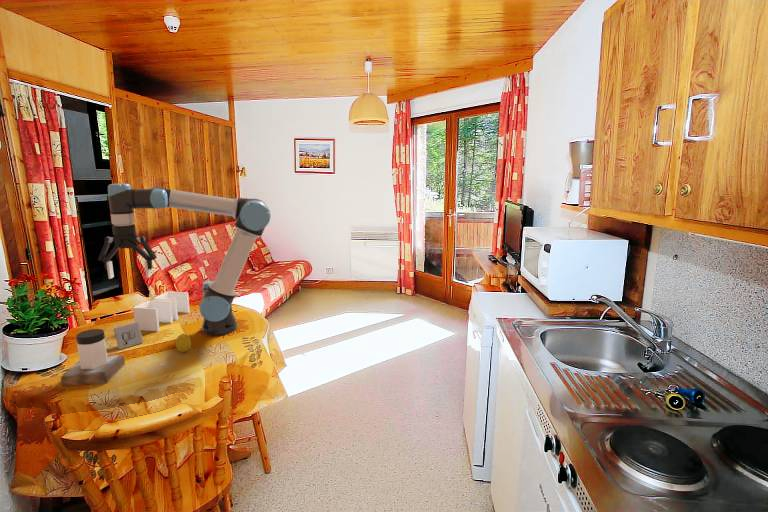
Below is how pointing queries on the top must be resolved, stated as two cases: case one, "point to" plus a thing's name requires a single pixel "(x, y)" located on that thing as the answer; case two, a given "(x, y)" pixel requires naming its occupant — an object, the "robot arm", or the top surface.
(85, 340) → the jar
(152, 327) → the white domino row
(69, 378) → the stand
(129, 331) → the electrical switch
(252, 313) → the top surface
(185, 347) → the lemon
